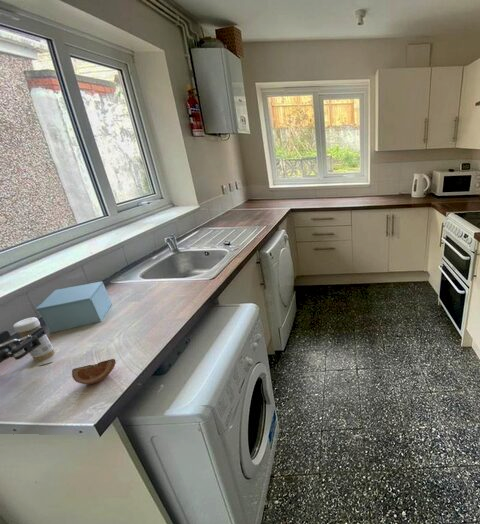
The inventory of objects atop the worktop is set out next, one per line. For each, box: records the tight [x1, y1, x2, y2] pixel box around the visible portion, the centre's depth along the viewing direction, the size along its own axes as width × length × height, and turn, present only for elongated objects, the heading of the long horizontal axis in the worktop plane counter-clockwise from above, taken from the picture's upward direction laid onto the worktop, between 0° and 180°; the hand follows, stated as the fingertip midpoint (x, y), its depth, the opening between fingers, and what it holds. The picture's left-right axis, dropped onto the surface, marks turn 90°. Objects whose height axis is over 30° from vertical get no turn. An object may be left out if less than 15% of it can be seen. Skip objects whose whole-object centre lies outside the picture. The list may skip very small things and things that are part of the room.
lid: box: [35, 281, 104, 312], centre depth 99 cm, size 14×14×1 cm
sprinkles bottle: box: [12, 316, 56, 367], centre depth 79 cm, size 5×5×13 cm
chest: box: [38, 283, 112, 334], centre depth 101 cm, size 14×14×9 cm
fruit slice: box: [71, 358, 117, 385], centre depth 73 cm, size 8×7×5 cm
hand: (25, 331), depth 76 cm, fingers open, 8 cm apart
